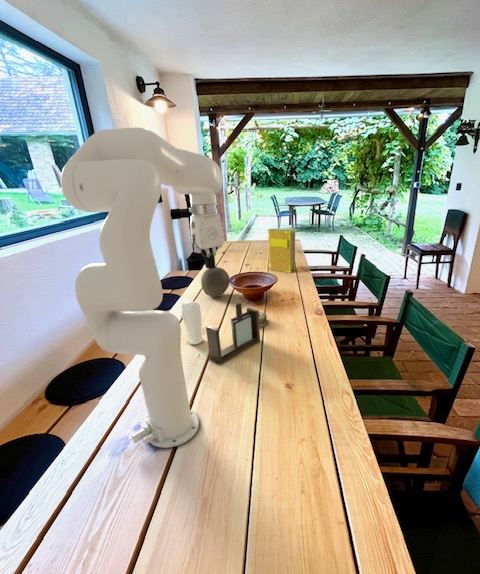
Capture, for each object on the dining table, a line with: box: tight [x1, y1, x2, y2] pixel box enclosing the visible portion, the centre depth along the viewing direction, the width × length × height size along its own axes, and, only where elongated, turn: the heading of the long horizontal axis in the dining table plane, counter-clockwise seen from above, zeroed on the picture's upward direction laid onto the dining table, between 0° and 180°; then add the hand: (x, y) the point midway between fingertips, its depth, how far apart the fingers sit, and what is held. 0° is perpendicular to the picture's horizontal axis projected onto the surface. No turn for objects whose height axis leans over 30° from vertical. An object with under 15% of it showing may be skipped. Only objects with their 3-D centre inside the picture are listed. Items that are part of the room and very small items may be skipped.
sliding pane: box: [232, 301, 252, 348], centre depth 112 cm, size 8×2×16 cm, turn 139°
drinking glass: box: [180, 301, 203, 345], centre depth 119 cm, size 7×7×15 cm
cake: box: [259, 311, 268, 328], centre depth 134 cm, size 10×10×5 cm
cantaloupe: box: [200, 266, 231, 298], centre depth 164 cm, size 14×14×15 cm
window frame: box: [205, 307, 261, 365], centre depth 112 cm, size 20×5×12 cm, turn 139°
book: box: [267, 228, 296, 274], centre depth 202 cm, size 17×7×25 cm, turn 58°
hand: (210, 267), depth 107 cm, fingers closed
